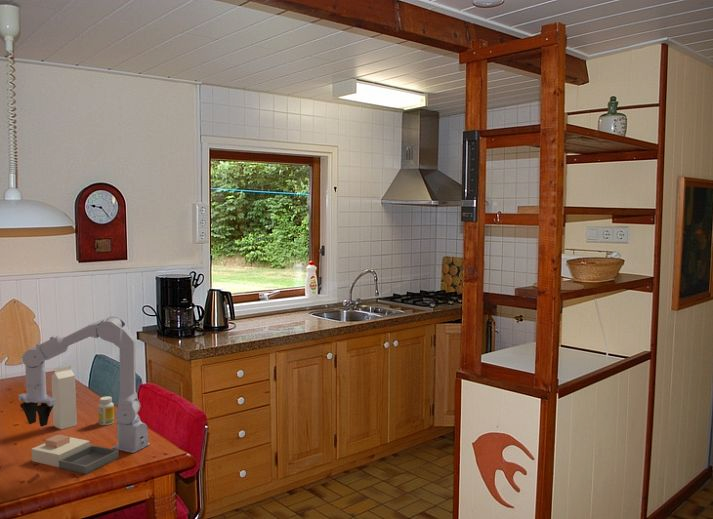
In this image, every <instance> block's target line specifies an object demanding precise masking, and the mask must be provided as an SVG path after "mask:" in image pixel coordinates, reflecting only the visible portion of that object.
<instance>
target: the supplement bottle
mask: <svg viewBox="0 0 713 519" xmlns="http://www.w3.org/2000/svg"><path fill="white" fill-rule="evenodd" d="M112 401H113V398H112V396H106V395H105V396H102V397H100V399H99V404H98V405H97V406H98V407H97V409H98V410H97V411H98V424H99V426H108V425H112V424H113V423H115V405H114V402H112Z"/></svg>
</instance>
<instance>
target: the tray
mask: <svg viewBox="0 0 713 519" xmlns="http://www.w3.org/2000/svg"><path fill="white" fill-rule="evenodd" d="M119 452H120V450H116V449H112V448H108V447H103V446H99V445H93V444H92V445H91V444H90V446H89V447H87V448H85V449H83V450H81V451H78V452H76V453H74V454H72V455H70V456H68V457H65V458H63V459H61V460H59V467H58V469H60V470H64V471H70V472H74V473H76V474H77V473H78V474H81V473H82V474H83V475H89V474H90V473H93V472H94V471H96V470H98V469H100V468H102V467H104V466H106V465H109V464H110V463H112V462H114V461H115V460H118V459H119V458H120V453H119ZM82 474H81V475H82Z"/></svg>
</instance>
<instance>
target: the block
mask: <svg viewBox="0 0 713 519" xmlns="http://www.w3.org/2000/svg"><path fill="white" fill-rule="evenodd" d="M44 443H45V446H49V447H53V448H59V447H61V446H63V445H65V444H68V443H70V436H68V435H64V434H59V433H58V434H56V435H53V436H51V437H48V438H46V439H45V441H44Z"/></svg>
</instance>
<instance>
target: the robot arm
mask: <svg viewBox="0 0 713 519" xmlns="http://www.w3.org/2000/svg"><path fill="white" fill-rule="evenodd" d="M88 338H94V339H98V338H100V339H101V340H103V341H106V342H109V343H112V344H113V345H115V346H116V347H118V348H119V398H118V405H117V409H116V411H115V412H114V418H115V420H116V429H117V430H116V432H117V433H116V434H117V436H116V437H117V443H116V444H115V445H114V446H111V449H114V450H119V451H122V452H127V453H131V454H132V453H136V452H138V451H140V450H143V449H144V448H146V447H148V446H149V445H150V444H151V443H150V442H149V429H148V425H147V424H146V423H145V422H143V421H141V418H140V416H139V414H138V412H140V409H141V403H140V401H139V399H138V393H137V390H136V388H137V387H136V386H137V385H136V372H137V371H136V339H135V337H134V335H133V334H132V332H131V331H130V329H129V328H128V325H127V322H126V321H125V320H123V319H122V318H120V317H118V316H109V317H108V318H106V319H100V320H99V321H94V322H93V323H89V324H88V325H87V326H83V327H82V328H81V329H78V330H77V331H74V332H72V333H71V334H68V335H67V336H61V335H56V336H55V335H52V336H51V337H49V340H46V341H44V342H42V343H40V342H39V343H37V344H35V345H34V346H33V347H31V348H29V349H28V350H26V351H25V352H24V353H23V355H22V356H21V361H22V363H23V365H24V367H25V387H26V388H25V390H26V393H24V392H23V393H20V394H18V401H19V402H22V401H23V402H22V403H20V404H19V407H20V408H21V409H22V411H23V412H24V414H25V417H26V420H27V423H28V425H32V424H35V423H36V422H37V417H38V422H39V423H38V424H39V426H40V427H44V426H47V425H48V422H49V418H50V414H51V412H52V411H53V406H54V405H56V401H55V399H54V398H52V396H49V395H48V394H47V378H46V377H47V376H46V362H45V361H48V360H51V359H52V358H55V357H57V356H60V355H62V354H63V353H66V352H67V351H68V348H69V346H71V345H73V344H75V343H78V342H80V341H83V340H85V339H88Z"/></svg>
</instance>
